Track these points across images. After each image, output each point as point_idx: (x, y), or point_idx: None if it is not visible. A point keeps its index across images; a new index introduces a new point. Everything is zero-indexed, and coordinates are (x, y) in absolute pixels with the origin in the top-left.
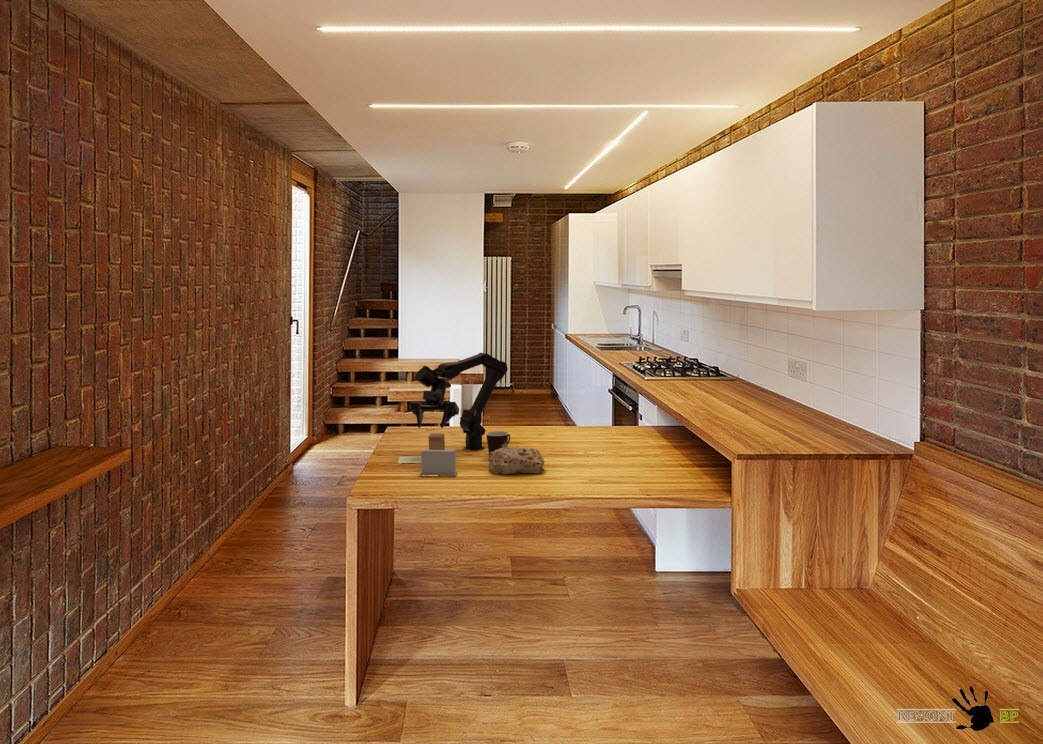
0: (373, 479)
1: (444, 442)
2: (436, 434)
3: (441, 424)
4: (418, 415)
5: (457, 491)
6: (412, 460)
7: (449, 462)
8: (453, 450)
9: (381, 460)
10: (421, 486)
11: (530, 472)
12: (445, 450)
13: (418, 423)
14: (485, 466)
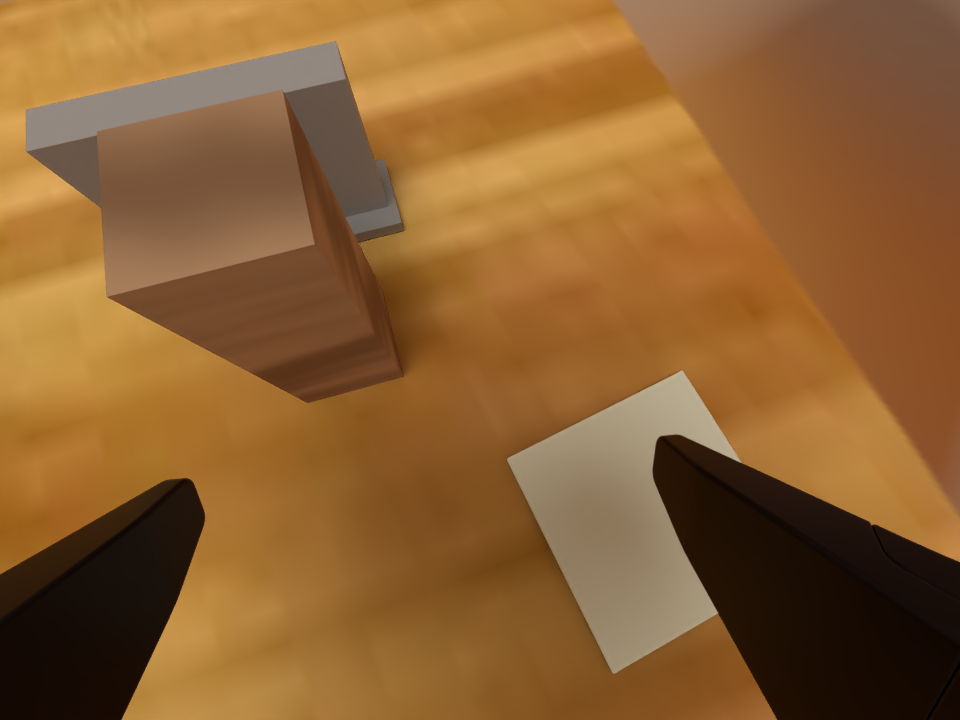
0: (607, 55)
1: (193, 336)
2: (206, 199)
3: (142, 501)
4: (945, 600)
5: (94, 18)
6: (623, 474)
7: None
8: (40, 133)
9: (864, 427)
10: (301, 31)
11: None
12: (119, 114)
13: (714, 461)
14: (3, 528)
